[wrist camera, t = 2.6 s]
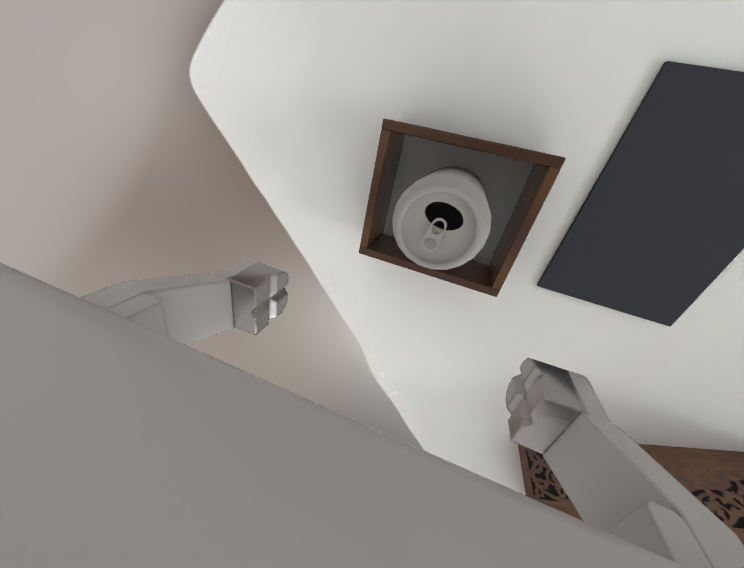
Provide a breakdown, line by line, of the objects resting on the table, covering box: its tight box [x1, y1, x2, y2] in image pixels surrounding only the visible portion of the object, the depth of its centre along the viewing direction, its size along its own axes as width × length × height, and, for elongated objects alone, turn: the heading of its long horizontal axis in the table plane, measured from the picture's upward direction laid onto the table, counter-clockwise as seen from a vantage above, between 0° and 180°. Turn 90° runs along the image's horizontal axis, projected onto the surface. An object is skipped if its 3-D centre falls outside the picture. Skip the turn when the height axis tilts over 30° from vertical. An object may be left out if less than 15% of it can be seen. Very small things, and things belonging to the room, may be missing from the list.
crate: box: [359, 119, 566, 297], centre depth 27 cm, size 13×15×6 cm
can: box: [392, 166, 491, 270], centre depth 25 cm, size 8×8×12 cm
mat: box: [537, 61, 744, 326], centre depth 24 cm, size 20×13×1 cm, turn 169°
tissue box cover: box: [518, 444, 744, 545], centre depth 34 cm, size 26×14×10 cm, turn 108°
